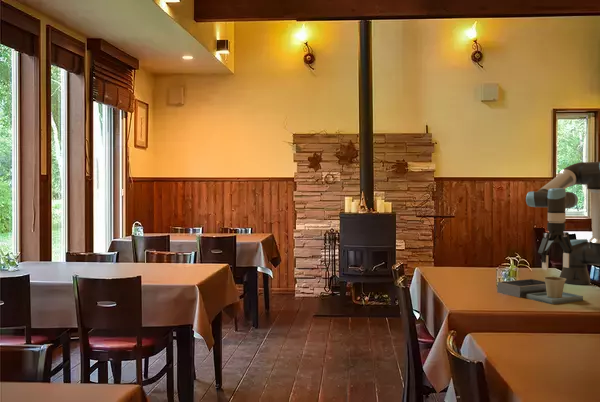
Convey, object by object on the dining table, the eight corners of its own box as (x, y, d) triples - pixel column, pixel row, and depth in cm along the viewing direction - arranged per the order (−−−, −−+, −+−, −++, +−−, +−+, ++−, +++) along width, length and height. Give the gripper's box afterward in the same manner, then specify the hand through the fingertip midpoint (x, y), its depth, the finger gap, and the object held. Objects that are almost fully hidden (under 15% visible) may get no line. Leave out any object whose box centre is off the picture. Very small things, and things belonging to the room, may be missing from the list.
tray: (556, 294, 271) (557, 290, 271) (582, 300, 259) (583, 296, 259) (526, 298, 262) (526, 293, 262) (551, 304, 250) (551, 299, 250)
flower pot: (568, 299, 255) (568, 280, 255) (545, 298, 257) (546, 279, 257) (562, 295, 264) (563, 277, 264) (541, 294, 266) (541, 276, 266)
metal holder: (531, 288, 287) (531, 278, 287) (554, 293, 274) (555, 283, 274) (497, 292, 277) (497, 281, 276) (519, 297, 264) (520, 286, 264)
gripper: (568, 220, 268) (567, 265, 269) (529, 222, 257) (529, 269, 258) (582, 221, 261) (581, 267, 262) (543, 223, 251) (542, 271, 252)
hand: (555, 268), depth 260 cm, fingers open, 13 cm apart
